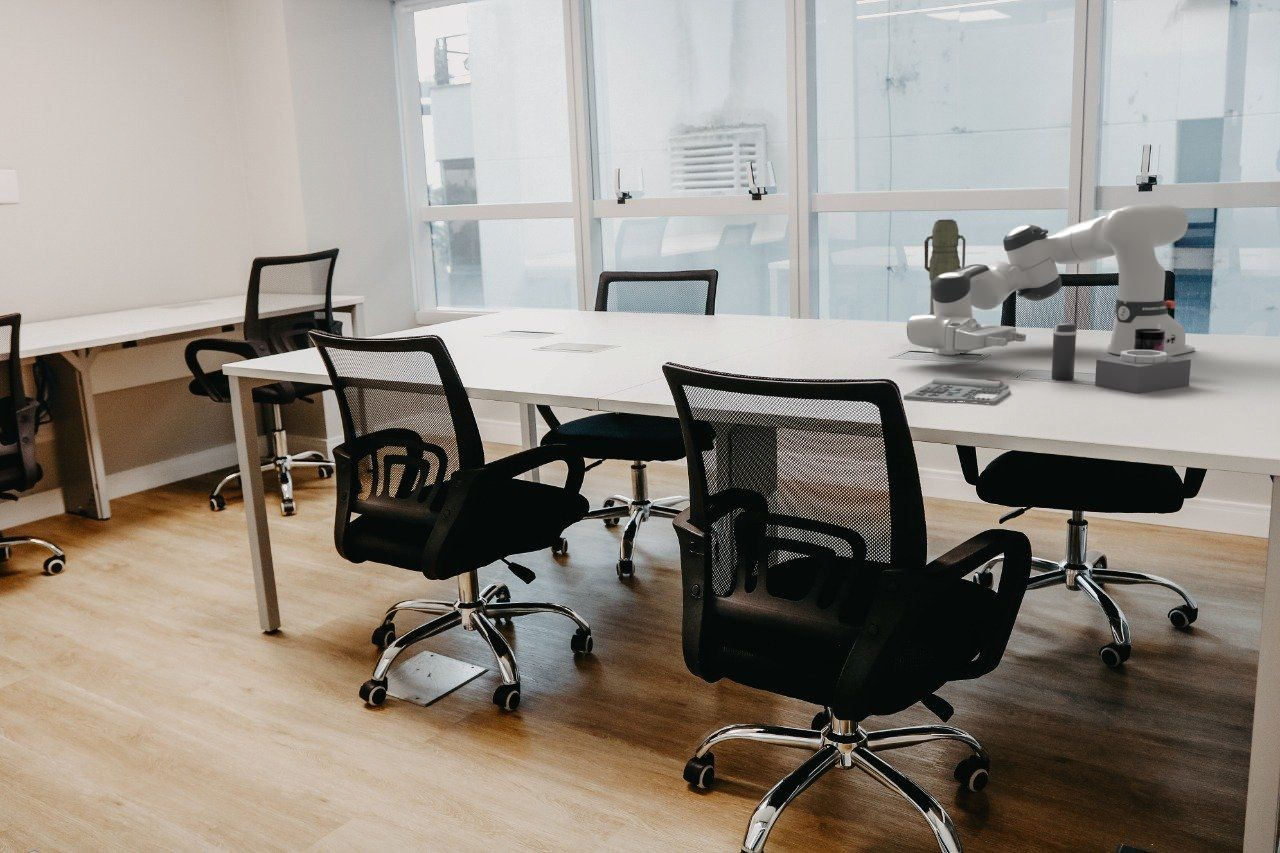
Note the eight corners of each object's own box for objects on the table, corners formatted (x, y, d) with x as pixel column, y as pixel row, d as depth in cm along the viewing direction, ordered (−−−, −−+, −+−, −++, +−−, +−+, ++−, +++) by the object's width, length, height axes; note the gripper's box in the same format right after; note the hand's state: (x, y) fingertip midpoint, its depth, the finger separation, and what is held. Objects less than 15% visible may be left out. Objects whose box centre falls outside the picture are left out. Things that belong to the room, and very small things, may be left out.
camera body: (1145, 377, 260) (1147, 346, 258) (1188, 385, 249) (1191, 352, 247) (1095, 385, 254) (1096, 353, 252) (1137, 393, 243) (1139, 360, 241)
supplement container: (1134, 375, 263) (1136, 332, 261) (1130, 370, 269) (1132, 328, 267) (1164, 376, 261) (1167, 332, 259) (1160, 371, 267) (1163, 328, 265)
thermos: (922, 334, 340) (925, 219, 332) (962, 334, 337) (965, 218, 329) (922, 338, 332) (924, 221, 324) (963, 338, 329) (966, 220, 321)
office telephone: (935, 373, 265) (1020, 378, 255) (935, 384, 266) (1019, 389, 255) (903, 389, 246) (993, 396, 235) (903, 401, 247) (993, 408, 236)
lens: (1062, 376, 266) (1065, 322, 263) (1079, 379, 261) (1081, 324, 258) (1046, 378, 264) (1048, 324, 261) (1062, 381, 259) (1065, 326, 256)
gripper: (984, 342, 287) (1034, 347, 277) (943, 351, 273) (994, 358, 263) (985, 318, 285) (1036, 323, 276) (944, 326, 271) (996, 331, 262)
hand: (1015, 340), depth 269 cm, fingers open, 8 cm apart
